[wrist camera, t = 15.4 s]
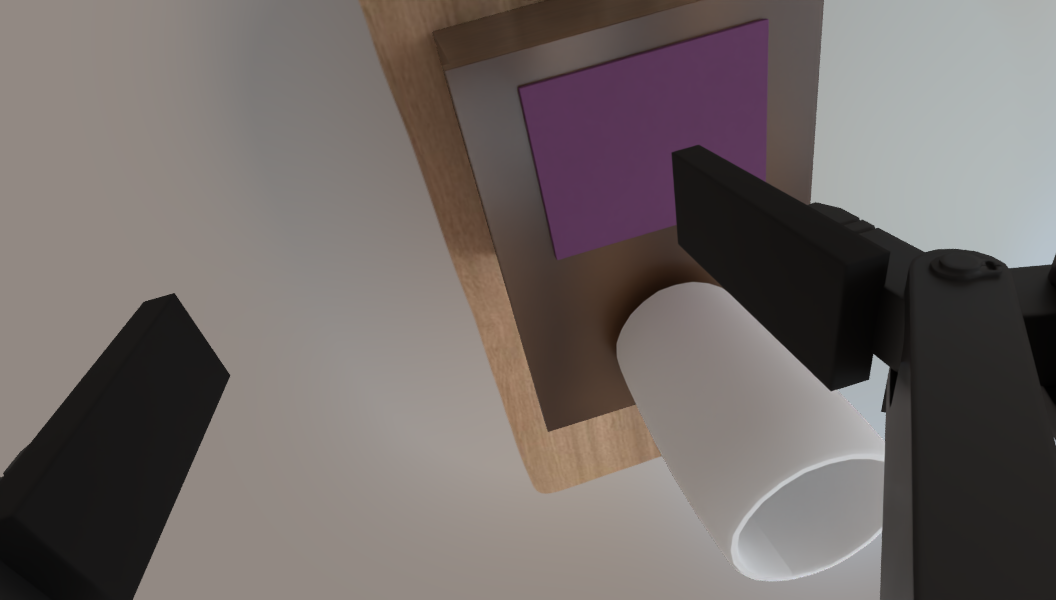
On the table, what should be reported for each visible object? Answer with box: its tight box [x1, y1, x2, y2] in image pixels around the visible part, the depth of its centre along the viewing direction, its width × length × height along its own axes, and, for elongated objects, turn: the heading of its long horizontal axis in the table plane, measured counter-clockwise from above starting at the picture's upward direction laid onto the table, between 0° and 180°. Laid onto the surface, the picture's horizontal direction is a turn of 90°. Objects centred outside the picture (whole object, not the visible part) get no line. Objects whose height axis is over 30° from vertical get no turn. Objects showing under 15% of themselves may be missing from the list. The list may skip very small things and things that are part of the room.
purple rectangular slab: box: [518, 19, 769, 260], centre depth 27 cm, size 12×9×1 cm
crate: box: [432, 0, 824, 432], centre depth 41 cm, size 18×23×26 cm
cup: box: [616, 282, 885, 581], centre depth 27 cm, size 8×8×14 cm
